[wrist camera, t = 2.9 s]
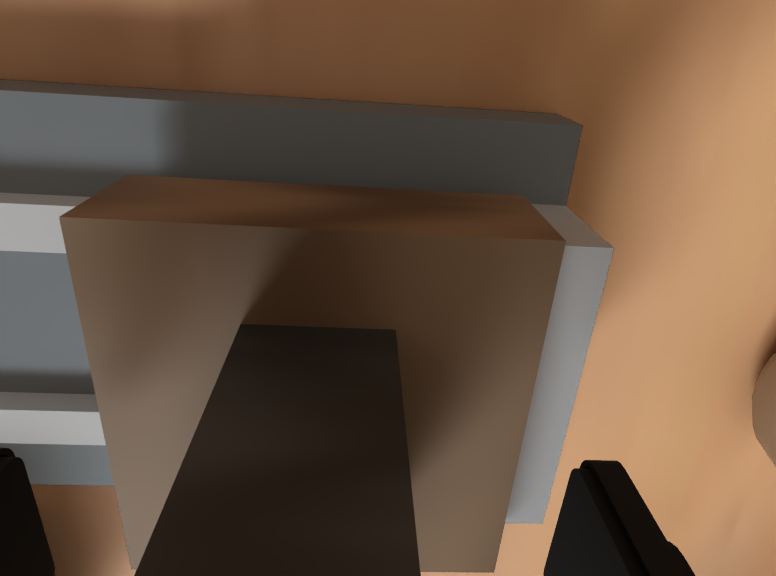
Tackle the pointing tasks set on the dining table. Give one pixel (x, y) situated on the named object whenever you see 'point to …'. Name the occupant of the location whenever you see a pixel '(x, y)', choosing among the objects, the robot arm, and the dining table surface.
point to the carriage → (311, 370)
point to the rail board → (260, 164)
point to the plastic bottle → (766, 408)
